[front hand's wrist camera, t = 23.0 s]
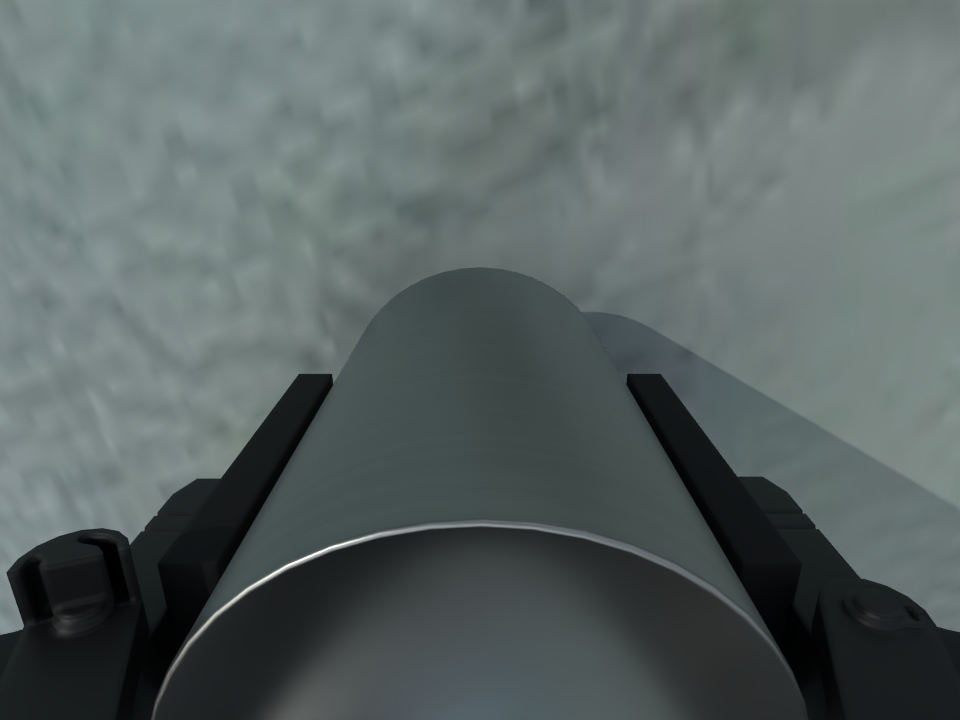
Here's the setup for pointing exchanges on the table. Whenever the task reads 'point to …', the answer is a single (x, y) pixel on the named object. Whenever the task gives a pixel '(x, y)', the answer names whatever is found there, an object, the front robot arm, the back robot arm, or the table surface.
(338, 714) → the tin
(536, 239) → the table surface
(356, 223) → the table surface
